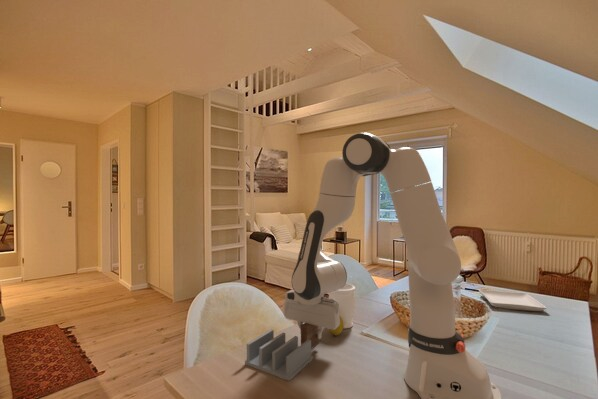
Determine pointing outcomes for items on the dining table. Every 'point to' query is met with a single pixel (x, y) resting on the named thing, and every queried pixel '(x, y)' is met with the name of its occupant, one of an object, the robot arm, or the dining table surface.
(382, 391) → the dining table surface
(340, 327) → the lemon
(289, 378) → the rack
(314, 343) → the board
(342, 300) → the jar
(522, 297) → the salad plate
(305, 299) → the robot arm
